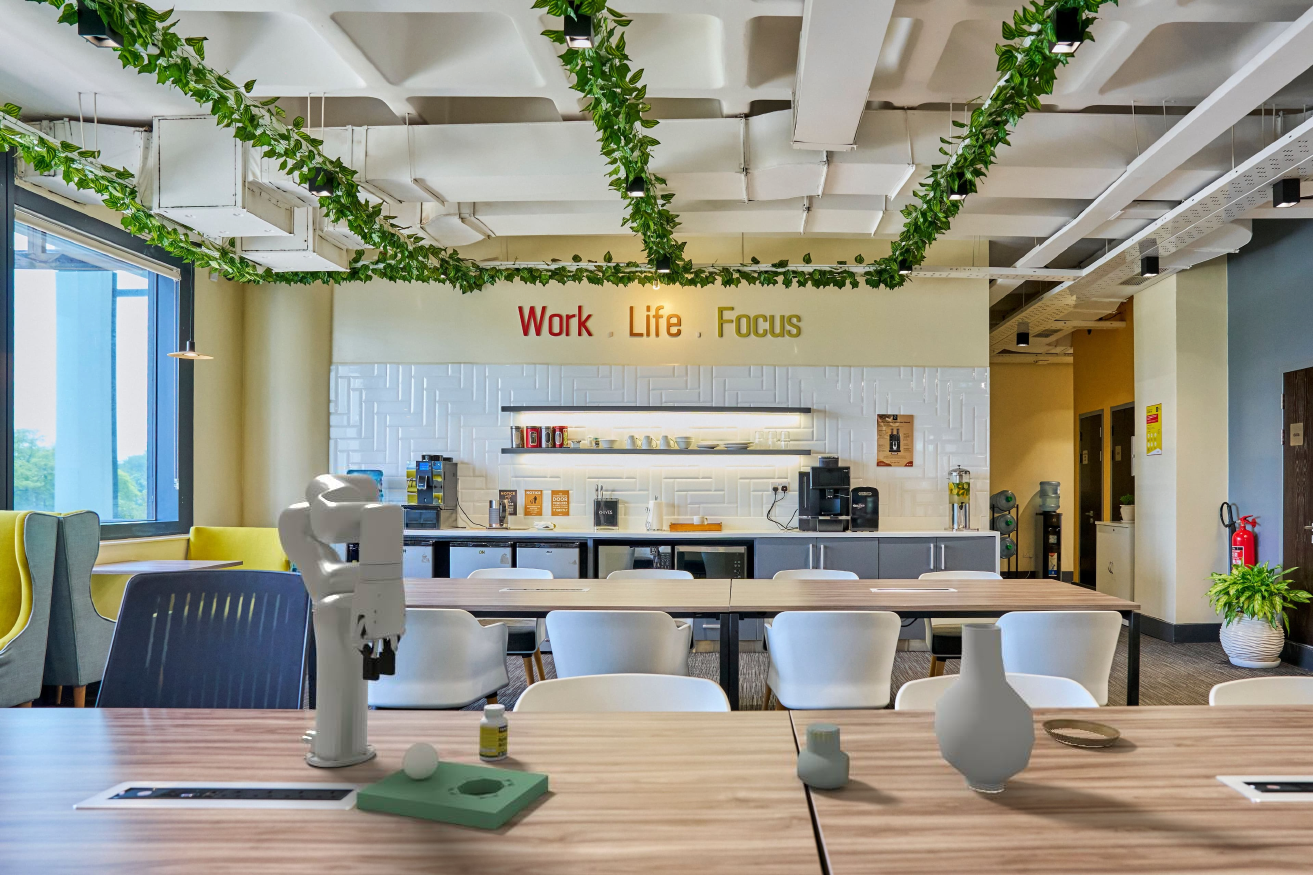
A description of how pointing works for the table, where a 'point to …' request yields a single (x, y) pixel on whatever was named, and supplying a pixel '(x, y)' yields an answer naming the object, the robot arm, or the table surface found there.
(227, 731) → the table surface
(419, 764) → the ball
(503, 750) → the supplement bottle
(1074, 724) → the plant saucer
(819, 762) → the air freshener
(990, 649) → the vase
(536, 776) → the mat
